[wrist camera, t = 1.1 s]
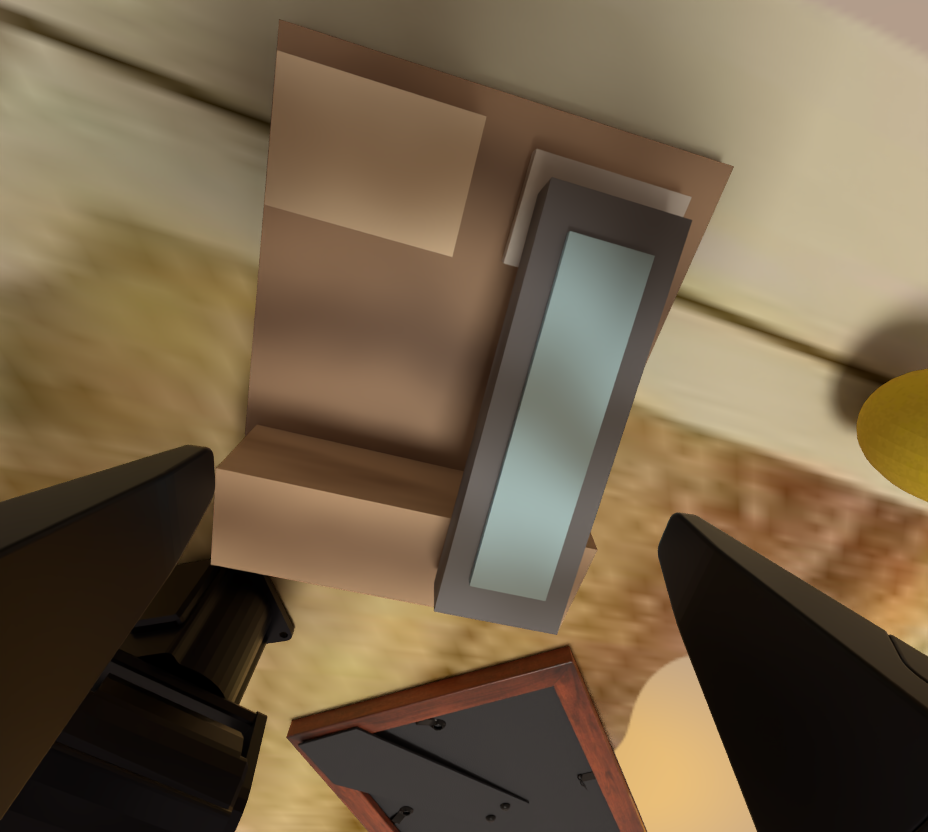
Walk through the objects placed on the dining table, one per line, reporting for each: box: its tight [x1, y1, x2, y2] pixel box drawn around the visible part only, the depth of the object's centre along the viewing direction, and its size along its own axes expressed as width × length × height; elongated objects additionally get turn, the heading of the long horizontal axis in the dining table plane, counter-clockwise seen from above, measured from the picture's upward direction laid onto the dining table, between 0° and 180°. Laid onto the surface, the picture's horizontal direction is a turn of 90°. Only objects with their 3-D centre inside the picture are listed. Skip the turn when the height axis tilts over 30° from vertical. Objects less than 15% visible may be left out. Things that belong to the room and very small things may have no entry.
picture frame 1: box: [434, 177, 692, 635], centre depth 18 cm, size 16×5×2 cm, turn 165°
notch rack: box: [211, 19, 734, 631], centre depth 19 cm, size 21×17×5 cm
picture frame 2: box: [286, 646, 647, 832], centre depth 35 cm, size 20×2×25 cm
